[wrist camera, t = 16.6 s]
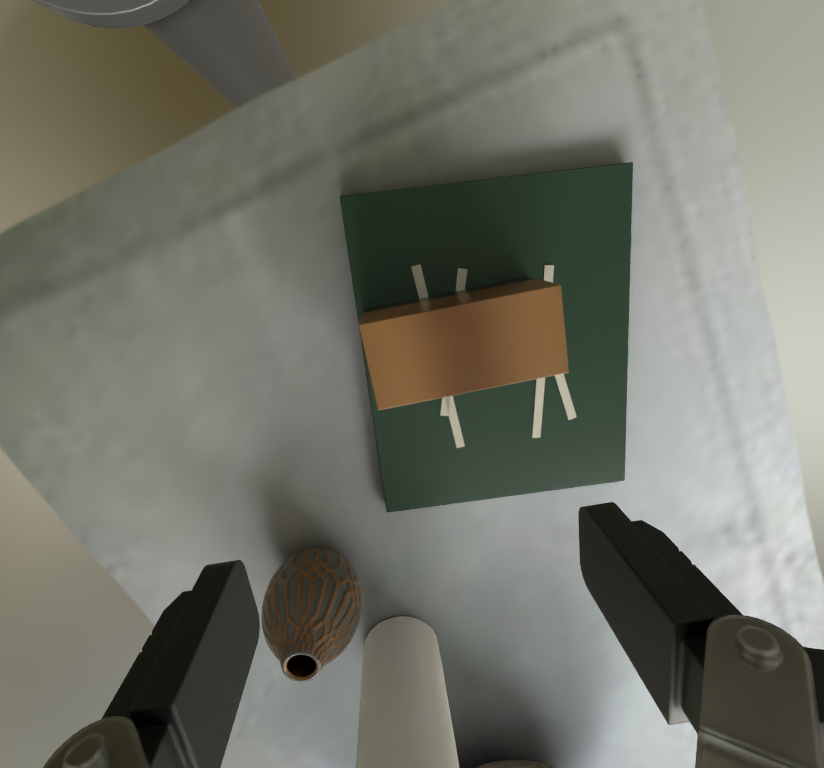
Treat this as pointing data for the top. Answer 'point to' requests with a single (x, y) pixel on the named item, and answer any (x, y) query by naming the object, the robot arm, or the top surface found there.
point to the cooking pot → (514, 764)
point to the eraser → (464, 341)
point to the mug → (404, 699)
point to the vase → (311, 611)
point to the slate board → (488, 264)
